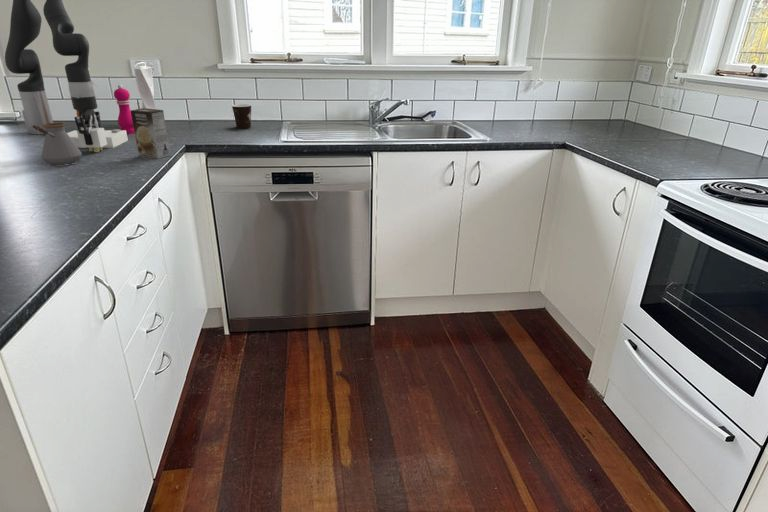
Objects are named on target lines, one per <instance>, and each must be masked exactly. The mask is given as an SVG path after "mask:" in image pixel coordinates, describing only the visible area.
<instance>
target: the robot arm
mask: <svg viewBox="0 0 768 512" xmlns="http://www.w3.org/2000/svg"><path fill="white" fill-rule="evenodd" d="M42 11H43V16H44V18H45V20H46V22H47V24H48V26H49V28H50V30H51V35H52V45H53V49H54V51H55V52H56V53H57V54H58V55H60V56H63V57H74V56H75V57H77V60H76V61H74V62H71V63H67V64H66V65H65V66H64V70H65V74H66V79H67V84H68V85H67V86H68V90H69V94H70V100H71V103H72V108H73V110H75V111H76V110H78V111H79V116H78V117H77V116H74V122H75V125H76V127H77V130H78V131H79V133H80V134H83V135H84V139H85V143H86V145H92V144H93V141H92V137H91V134H90V129H91V128H102V123H101V115H100V111H95V110H96V109H98V104H97V99H96V94H95V89H94V85H93V84H92V83H91V80H92V79H91V76H90V71H89V69H90V68H89V56H90V43H89V42H90V41H89V40H88V38H87V37H86V36H85V35H84V34H82V33H74V30H75V26H74V24H73V21H72V20H71V18H70V16H69V14H68V12H67V10H66V8H65V5H64V3H63V0H46V1H44V5H43V10H42ZM41 26H42V15H41V13H40V12H39V10H38V9H37V7H36V5H34V3H33V2H32V1H31V0H12V7H11V13H10V25H9V36H8V41H7V43H6V44H7V45H6V47H5V52H4V60H5V66H6V68H7V70H8V71H9V72H11V73H12V74H17V75H22V74H24V75H25V74H27V75H28V74H29V76H28V77H27V79H25V80H23V81H21V82H19V83H18V84H17V85H16V86H17V90H18V94H19V97H20V102H21V105H22V108H23V109H22V110H21V113H22V116H23V120H24V124H25V127H26V130H27V134H30V135H31V134H32V135H46V134H45V133H42V132H40V131H39V130H38V131H37V130H36V129H35V128H33V127H32V126H33V125H35V126H39V127H40V128H43V129H44V130H45V128H44V127H43V126H42V125H43V124H49V123H54V119H53V116H52V111H51V109H50V105H49V100H48V97H47V93H46V90H45V89H46V88H45V84H44V77H43V74H42V73H43V72H42V68H41V63H40V60H39V56H38V55H37V53H36V52H35V50H34V49H30V48H29V49H28V48H26V47H28V46H29V45H30V44H32V43H33V42H34V41H35V40H36V39H37V38H38V37H39V36H40V33H41V28H42V27H41ZM88 68H89V69H88ZM30 127H31V128H30ZM81 128H82V130H81ZM30 130H31V131H32V132H31V131H30ZM36 131H37V132H36Z"/></svg>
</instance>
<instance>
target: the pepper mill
mask: <svg viewBox="0 0 768 512" xmlns="http://www.w3.org/2000/svg"><path fill="white" fill-rule="evenodd" d="M123 87H124V86H123V85H122V84H118V85H117V89H115V90H114V91H113V96H114V97H113V98H115V99H116V105H118V110H119V112H118V113H119V114H118V118H117V124H118V126H119V127H120V130H126V133H127V135H131V134H132V135H133V134H135V132H134V127H133V121H132V116H131V110H132V109H131V108H130V104H131V102H130V100H129V99H130V97H131V96H130V95H131V94H130V92H129V91H128V89H126V88H123Z"/></svg>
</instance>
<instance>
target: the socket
mask: <svg viewBox="0 0 768 512" xmlns="http://www.w3.org/2000/svg"><path fill="white" fill-rule="evenodd" d="M77 130H78V129H77ZM77 130H71V131H69V132H66V133H67V134H68V135H69V137H70V138H71V139H72V141H73V142H74V143H75V145H76V146H77V148H78V149H79V148H81V149H89V147H81V146H80V142H79V141H74V140H73V137H78V134H77ZM104 131H105V136H106V140H107V145H105V146H102V149H105V148H107V149H108V148H109V149H110V148H111V149H112V148H113V149H114V148H116V147H118V146H120V145H122V144H123V143H124V144H125V143H127V142H128V141H129V139H128V138H129V137H128V134H127V133H126V130H121V128H120V129H118V128H115V129H112V130H110V129H109V130H106V129H104Z"/></svg>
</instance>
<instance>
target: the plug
mask: <svg viewBox="0 0 768 512" xmlns="http://www.w3.org/2000/svg"><path fill="white" fill-rule="evenodd" d="M81 130H82V129H81ZM104 130H105V128H104V127H101V128H91V129H90V134H91V137H92V141H93V144H92V145H86V143H85V139H84V135H83V134H80V133H79V131H78V129H77V134H78V137H73V140H74V141H79V142H80V146H81V147H89V148H88V151H89V152H90V151H92V152H94V153H100V150H101V152H102V151H103V148H102V146H105V145H107V140H106V136H105V131H104Z"/></svg>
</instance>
